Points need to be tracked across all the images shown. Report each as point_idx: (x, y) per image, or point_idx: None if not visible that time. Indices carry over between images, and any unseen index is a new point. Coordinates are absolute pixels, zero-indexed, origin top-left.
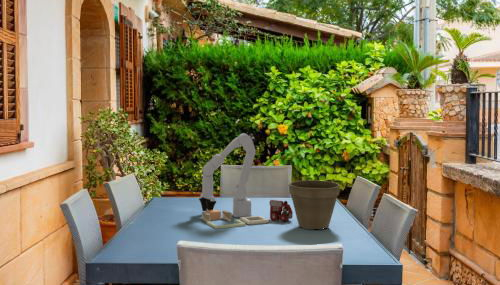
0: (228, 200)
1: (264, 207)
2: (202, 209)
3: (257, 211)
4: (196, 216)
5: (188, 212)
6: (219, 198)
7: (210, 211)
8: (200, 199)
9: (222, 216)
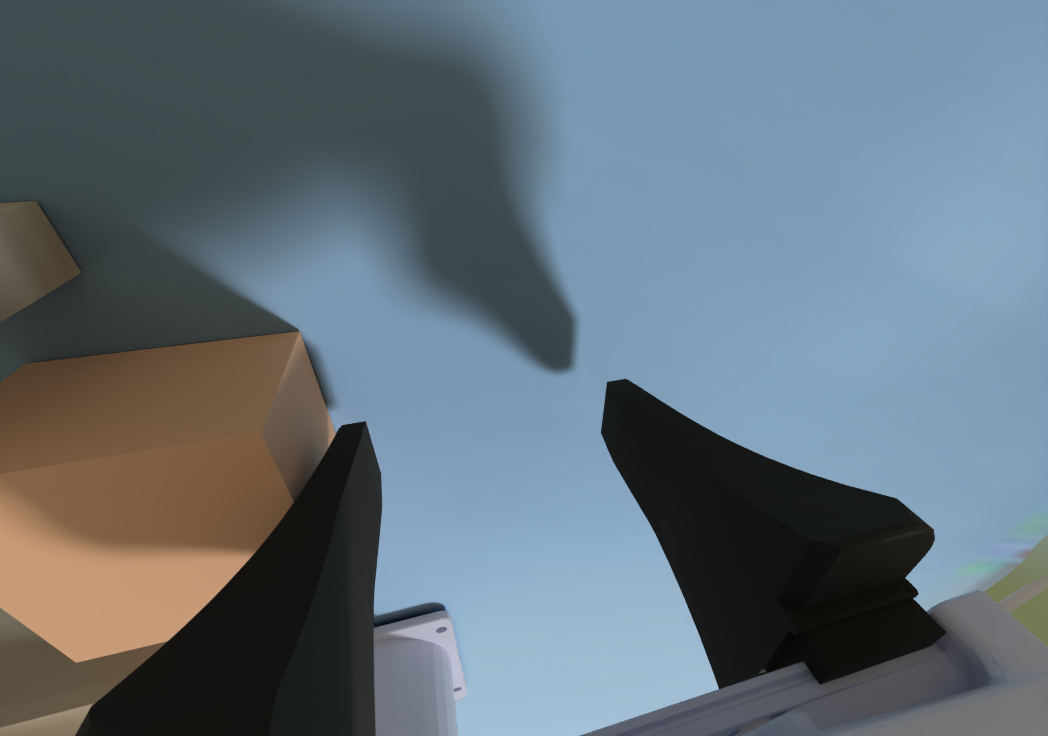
0: (918, 592)
1: None
2: (636, 391)
3: (512, 724)
4: (469, 189)
5: (856, 156)
6: (1005, 554)
7: (38, 513)
8: (805, 542)
9: None
